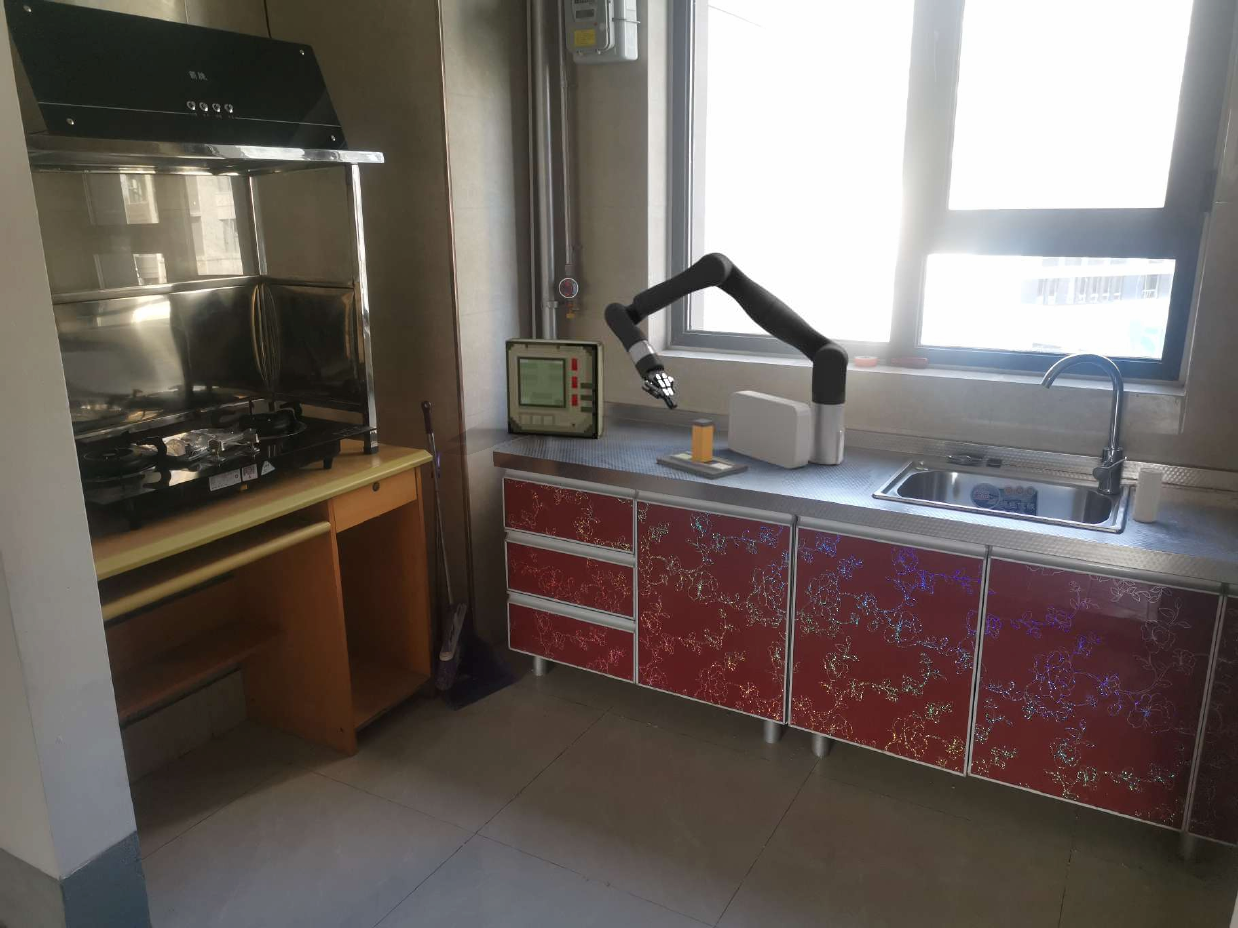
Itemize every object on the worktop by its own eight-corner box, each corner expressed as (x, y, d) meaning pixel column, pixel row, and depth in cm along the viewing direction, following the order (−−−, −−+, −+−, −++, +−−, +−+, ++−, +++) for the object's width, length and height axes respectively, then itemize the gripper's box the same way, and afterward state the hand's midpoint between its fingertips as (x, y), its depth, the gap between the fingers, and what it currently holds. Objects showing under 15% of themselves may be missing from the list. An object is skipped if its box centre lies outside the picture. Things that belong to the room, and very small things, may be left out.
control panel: (508, 434, 294) (505, 340, 286) (516, 429, 301) (513, 338, 293) (598, 439, 287) (597, 344, 279) (604, 434, 294) (603, 341, 286)
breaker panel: (656, 463, 259) (656, 456, 258) (691, 455, 268) (691, 448, 267) (713, 479, 243) (713, 472, 242) (748, 470, 252) (748, 463, 251)
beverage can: (1147, 516, 214) (1155, 467, 210) (1160, 523, 209) (1168, 472, 206) (1127, 516, 213) (1135, 467, 210) (1139, 523, 209) (1147, 472, 206)
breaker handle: (691, 459, 255) (692, 420, 252) (701, 457, 258) (702, 418, 255) (702, 462, 252) (703, 423, 249) (712, 460, 254) (713, 421, 252)
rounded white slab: (814, 466, 256) (818, 404, 251) (794, 470, 252) (798, 406, 247) (746, 446, 279) (749, 388, 274) (727, 449, 275) (729, 390, 270)
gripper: (635, 354, 258) (664, 403, 253) (668, 350, 267) (697, 397, 261) (622, 370, 264) (650, 418, 258) (655, 365, 272) (684, 412, 266)
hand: (674, 407), depth 260 cm, fingers closed
